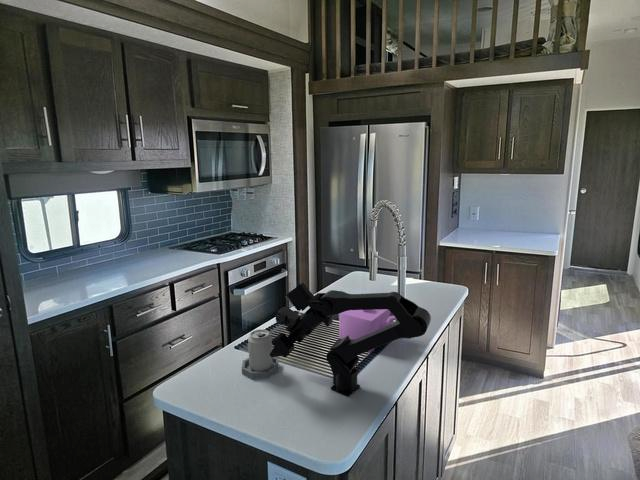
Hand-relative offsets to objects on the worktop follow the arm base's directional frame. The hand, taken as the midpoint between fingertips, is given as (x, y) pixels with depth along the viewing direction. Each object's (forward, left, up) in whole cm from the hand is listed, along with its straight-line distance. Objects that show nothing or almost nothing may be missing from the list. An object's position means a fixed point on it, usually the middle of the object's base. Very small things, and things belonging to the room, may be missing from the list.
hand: (277, 349), depth 132 cm
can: (+6, +2, -8) cm, 10 cm away
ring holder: (+6, +2, -8) cm, 11 cm away
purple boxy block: (-10, -37, -9) cm, 39 cm away
